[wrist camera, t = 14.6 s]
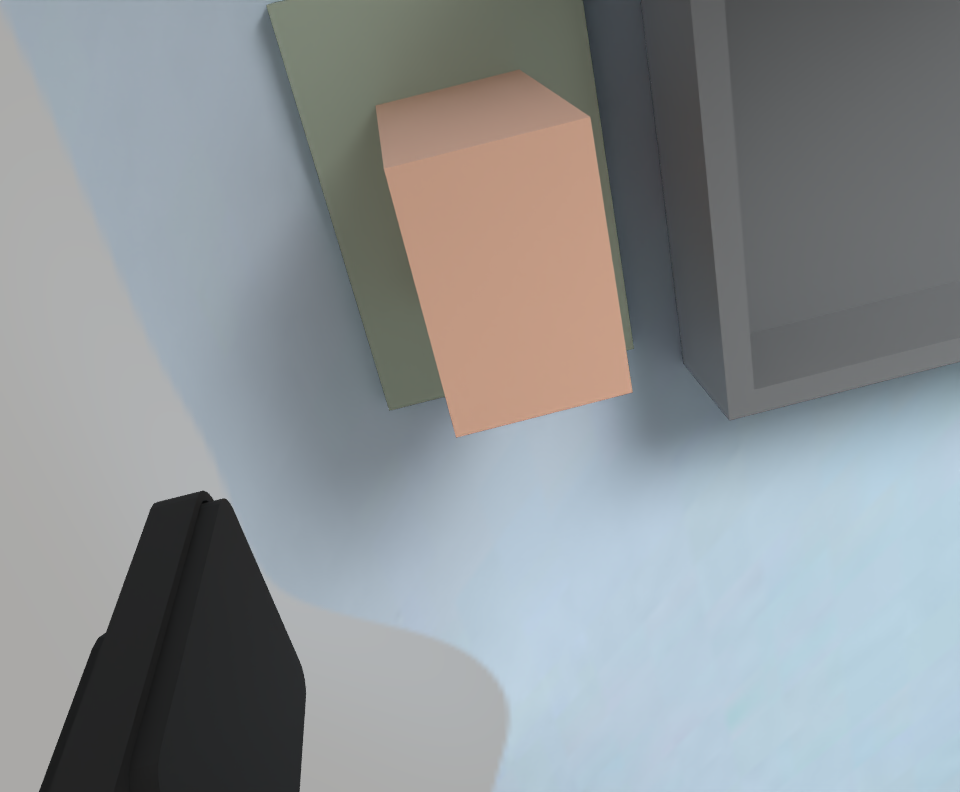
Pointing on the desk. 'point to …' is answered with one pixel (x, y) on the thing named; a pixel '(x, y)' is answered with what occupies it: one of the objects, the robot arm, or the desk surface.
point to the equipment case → (809, 190)
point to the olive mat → (401, 74)
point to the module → (506, 248)
